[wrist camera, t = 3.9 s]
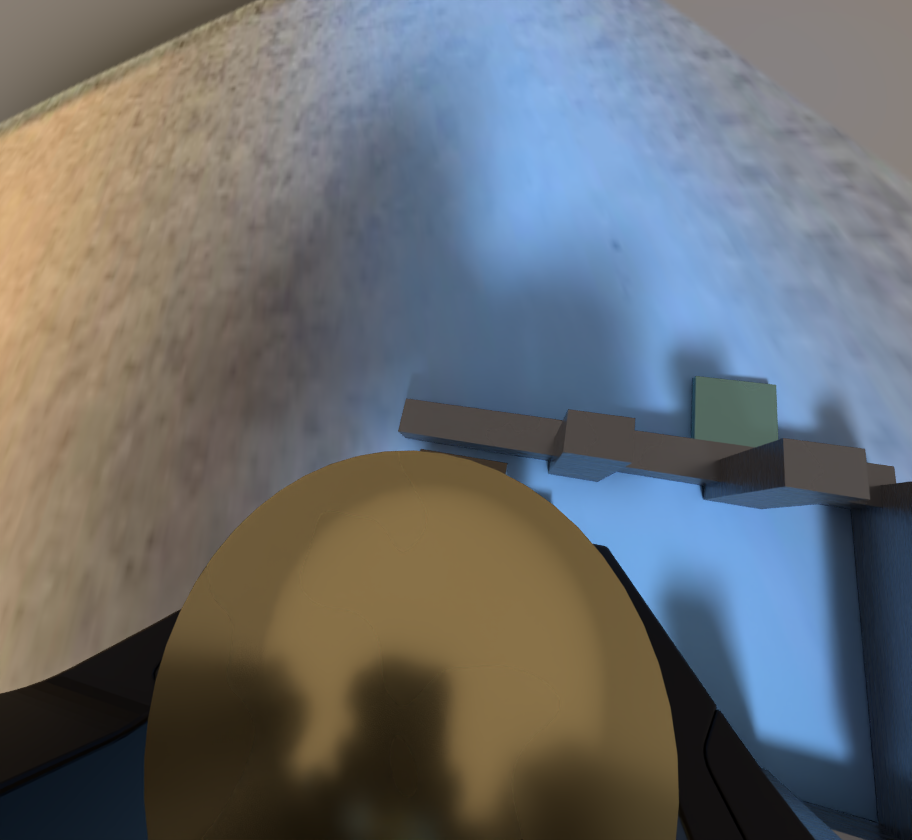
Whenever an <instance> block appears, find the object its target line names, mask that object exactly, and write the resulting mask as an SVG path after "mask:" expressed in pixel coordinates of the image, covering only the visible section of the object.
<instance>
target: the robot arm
mask: <svg viewBox="0 0 912 840" xmlns="http://www.w3.org/2000/svg"><path fill="white" fill-rule="evenodd" d="M593 545H594V546H595V547H596V549H597V550H598V551H599V552H600V553H601V554H602V556H603V557H604V558H605V560H606V561H607V563H608V564H609V566H610V567H611V569H612V570H613V572H614V573H615V575H616V576H617V578H618V579H619V581H620V582H621V584H622V585H623V586H624V588H625V590H626V592H627V594H628V596H629V597H630V599H631V601H632V603H633V605H634V607H635V609H636V611H637V613H638V615H639V617H640V619H641V620H642V622H643V624H644V627H645V629H646V632H647V635H648V637H649V640H650V642H651V645H652V647H653V650H654V653H655V655H656V658H657V660H658V663H659V666H660V670H661V674H662V677H663V681H664V685H665V689H666V693H667V696H668V700H669V704H670V708H671V714H672V721H673V728H674V735H675V742H676V748H677V758H678V789H679V808H678V820H677V832H676V840H815V838H814V837H813V836H812V834H811V833H810V832H809V831H808V829H807V828H806V827H805V826H804V824H803V823H802V822H801V821H800V819H799V818H798V817H797V815H796V814H795V813H794V811H793V810H792V809H791V807H790V806H789V805H788V804H787V802H786V801H785V800H784V798H783V797H782V796H781V794H780V793H779V792H778V790H777V789H776V788H775V787H774V785H773V784H772V783H771V781H770V780H769V779H768V777H767V776H766V775H765V773H764V772H763V771H762V769H761V768H760V767H759V765H758V764H757V762H756V761H755V760H754V758H753V757H752V755H751V754H750V753H749V751H748V750H747V748H746V747H745V746H744V744H743V743H742V741H741V740H740V739H739V737H738V736H737V734H736V733H735V731H734V730H733V729H732V727H731V726H730V724H729V723H728V721H727V720H726V718H725V717H724V716H723V714H722V713H721V711H720V710H716V704H715V703H714V701H713V700H712V698H711V697H710V695H709V694H708V693H707V691H706V690H705V688H704V687H703V685H702V684H701V682H700V681H699V679H698V678H697V677H696V675H695V674H694V672H693V671H692V669H691V668H690V666H689V665H688V664H687V662H686V661H685V659H684V658H683V656H682V655H681V653H680V652H679V650H678V649H677V648H676V646H675V645H674V643H673V642H672V640H671V639H670V637H669V636H668V634H667V633H666V632H665V630H664V629H663V627H662V626H661V624H660V623H659V621H658V620H657V619H656V617H655V616H654V614H653V613H652V611H651V610H650V608H649V607H648V605H647V604H646V603H645V601H644V600H643V598H642V597H641V595H640V594H639V592H638V591H637V589H636V588H635V587H634V585H633V584H632V582H631V581H630V579H629V578H628V576H627V575H626V573H625V572H624V571H623V569H622V568H621V566H620V565H619V563H618V562H617V560H616V559H615V558H614V556H613V555H612V553H611V552H610V550H609V549H608V548H607V547H606V546H602V545H597V544H593ZM180 611H181V609H180V610H178V611H176V612H175V613H173V614H171V615H169V616H167V617H166V618H164V619H162V620H160V621H158V622H156V623H155V624H153V625H151V626H149V627H147V628H145V629H143V630H142V631H140V632H138V633H136V634H134V635H132V636H130V637H128V638H126V639H125V640H123V641H121V642H119V643H117V644H115V645H113V646H111V647H109V648H108V649H106V650H104V651H102V652H100V653H98V654H96V655H94V656H92V657H91V658H89V659H87V660H85V661H83V662H81V663H79V664H77V665H75V666H74V667H72V668H70V669H68V670H65V671H63V672H61V673H59V674H57V675H55V676H53V677H50V678H48V679H46V680H43V681H41V682H38V683H35V684H32V685H30V686H27V687H23V688H20V689H17V690H13V691H9V692H5V693H1V694H0V840H148V835H147V824H146V814H145V804H144V755H145V745H146V735H147V725H148V717H149V712H150V707H151V702H152V696H153V691H154V686H155V681H156V678H157V674H158V671H159V668H160V664H161V661H162V658H163V654H164V651H165V648H166V645H167V642H168V640H169V637H170V635H171V632H172V630H173V628H174V625H175V623H176V620H177V618H178V615H179V613H180Z"/></svg>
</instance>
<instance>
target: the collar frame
mask: <svg viewBox="0 0 912 840" xmlns="http://www.w3.org/2000/svg"><path fill="white" fill-rule="evenodd" d="M634 429H635V418H629V417H622V416H614V415H607V414H599V413H592V412H584V411H577V410H569V409H568V411H567V413H566V415H565V417H564V419H563V420H556V419H549V418H542V417H535V416H528V415H520V414H513V413H506V412H499V411H492V410H485V409H477V408H470V407H463V406H456V405H449V404H441V403H434V402H427V401H420V400H413V399H406V401H405V405H404V409H403V413H402V417H401V422H400V426H399V430H398V431H399V432H400V433H401V434H402V435H403V436H404V437H405V438H409V439H416V440H422V441H428V442H434V443H441V444H447V445H453V446H459V447H466V448H472V449H478V450H484V451H491V452H497V453H503V454H509V455H516V456H522V457H528V458H534V459H541V460H547V461H550V464H549V472H548V474H553V475H559V476H565V477H571V478H577V479H583V480H589V481H595V482H598V481H600V480H602V479H604V478H606V477H607V476H609V475H611V474H613V473H615V472H622V473H628V474H634V475H641V476H647V477H653V478H659V479H666V480H672V481H678V482H684V483H691V484H697V485H703V486H704V500H710V501H716V502H722V503H728V504H734V505H740V506H746V507H752V508H758V509H767V508H779V507H791V506H802V505H814V504H822V505H828V506H834V507H840V508H847V509H851V515H852V527H853V538H854V549H855V560H856V572H857V583H858V594H859V606H860V617H861V628H862V639H863V651H864V662H865V673H866V684H867V696H868V707H869V718H870V730H871V741H872V752H873V763H874V775H875V786H876V797H877V809H878V820H879V823H877V822H873V821H870V820H866V819H863V818H860V817H856V816H853V815H849V814H846V813H842V812H839V811H835V810H832V809H829V808H825V807H822V806H818V805H815V804H811V803H808V802H804V801H801V800H799V799H798V798H797V797H796V796H795V795H793V794H792V793H791V792H790V791H789V790H788V789H787V788H786V787H785V786H784V785H783V784H782V783H781V782H779V781H778V780H777V779H776V778H775V777H774V776H773V775H772V774H771V773H770V772H769V771H768V770H764V769H762V771H763V772H764V773H765V775H766V776H767V777H768V779H769V780H770V781H771V783H772V784H773V785H774V787H775V788H776V789H777V790H778V792H779V793H780V794H781V796H782V797H783V798H784V800H785V801H786V802H787V804H788V805H789V806H790V807H791V809H792V810H793V811H794V813H795V814H796V815H797V817H798V818H799V819H800V821H801V822H802V823H803V824H804V826H805V827H806V828H807V829H808V831H809V832H810V833H811V834H812V836H813V837H814V838H815V840H912V482H904V483H896V478H895V469H894V467H893V466H886V465H879V464H872V463H866V453H865V449H861V448H854V447H846V446H839V445H831V444H824V443H816V442H809V441H801V440H794V439H786V438H782V439H779V440H778V422H777V397H776V385H772V384H763V383H754V382H745V381H736V380H727V379H718V378H709V377H700V376H695V377H694V378H693V382H692V425H691V438H685V437H678V436H671V435H664V434H657V433H649V432H642V431H635V430H634Z"/></svg>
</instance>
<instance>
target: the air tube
mask: <svg viewBox="0 0 912 840" xmlns="http://www.w3.org/2000/svg"><path fill="white" fill-rule="evenodd" d="M144 804H145V814H146V824H147V835H148V840H676V832H677V820H678V808H679V789H678V758H677V748H676V742H675V735H674V728H673V721H672V714H671V708H670V704H669V700H668V696H667V693H666V689H665V685H664V681H663V677H662V674H661V670H660V666H659V663H658V660H657V658H656V655H655V653H654V650H653V647H652V645H651V642H650V640H649V637H648V635H647V632H646V629H645V627H644V624H643V622H642V620H641V619H640V617H639V615H638V613H637V611H636V609H635V607H634V605H633V603H632V601H631V599H630V597H629V596H628V594H627V592H626V590H625V588H624V586H623V585H622V584H621V582H620V581H619V579H618V578H617V576H616V575H615V573H614V572H613V570H612V569H611V567H610V566H609V564H608V563H607V561H606V560H605V558H604V557H603V556H602V554H601V553H600V552H599V551H598V550H597V549H596V547H595V546H594V545H593V544H592V543H591V542H590V541H589V539H588V538H587V537H586V536H585V535H584V534H583V532H582V531H581V530H580V529H579V528H578V527H577V526H576V525H575V524H574V523H573V522H572V521H570V520H569V519H568V518H567V517H566V516H565V515H564V514H563V513H562V512H561V511H559V510H558V509H557V508H556V507H555V506H554V505H553V504H551V503H550V502H549V501H547V500H546V499H544V498H543V497H542V496H540V495H539V494H537V493H536V492H534V491H533V490H532V489H530V488H529V487H527V486H526V485H524V484H522V483H520V482H518V481H517V480H515V479H513V478H511V477H509V476H508V472H507V463H503V462H497V461H491V460H485V459H479V458H472V457H466V456H460V455H454V454H448V453H442V452H436V451H430V450H424V449H421V450H420V451H386V452H379V453H373V454H367V455H361V456H356V457H353V458H350V459H346V460H343V461H340V462H336V463H333V464H330V465H328V466H326V467H323V468H321V469H319V470H317V471H314V472H312V473H310V474H308V475H305V476H304V477H302V478H300V479H299V480H297V481H295V482H294V483H292V484H290V485H289V486H287V487H285V488H284V489H282V490H280V491H279V492H278V493H276V494H275V495H274V496H272V497H271V498H270V499H268V500H267V501H266V502H265V503H263V504H262V505H261V506H259V507H258V508H257V509H256V510H255V511H254V512H253V513H252V514H251V515H249V516H248V517H247V518H246V519H245V520H244V521H243V522H242V523H241V524H240V525H239V526H238V527H237V528H236V529H235V530H234V531H233V532H232V534H231V535H230V536H229V537H228V538H227V540H226V541H225V542H224V543H223V544H222V546H221V547H220V548H219V549H218V551H217V552H216V553H215V554H214V555H213V557H212V558H211V560H210V561H209V563H208V564H207V566H206V567H205V569H204V570H203V572H202V573H201V575H200V576H199V578H198V579H197V581H196V583H195V584H194V586H193V588H192V590H191V592H190V594H189V596H188V598H187V600H186V601H185V603H184V605H183V607H182V609H181V611H180V613H179V615H178V618H177V620H176V623H175V625H174V628H173V630H172V632H171V635H170V637H169V640H168V642H167V645H166V648H165V651H164V654H163V658H162V661H161V664H160V668H159V671H158V674H157V678H156V681H155V686H154V691H153V696H152V702H151V707H150V712H149V717H148V725H147V735H146V745H145V755H144Z"/></svg>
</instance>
